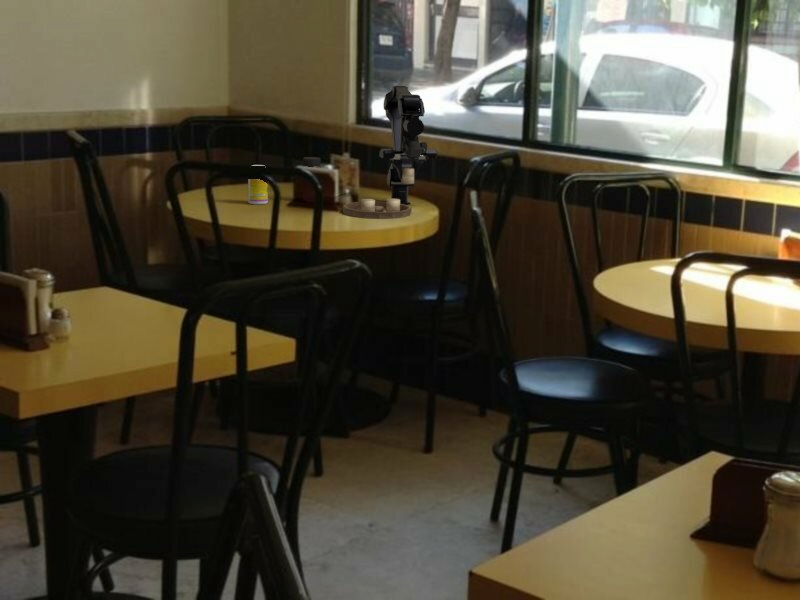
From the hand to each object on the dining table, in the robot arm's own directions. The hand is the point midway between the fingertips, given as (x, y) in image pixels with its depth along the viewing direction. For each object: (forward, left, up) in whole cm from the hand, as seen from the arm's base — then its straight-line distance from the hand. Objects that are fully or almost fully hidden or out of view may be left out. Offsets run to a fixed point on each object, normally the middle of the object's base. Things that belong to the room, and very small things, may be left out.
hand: (407, 179), depth 433 cm
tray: (+11, -13, -10) cm, 20 cm away
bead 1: (+15, -17, -9) cm, 25 cm away
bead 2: (+15, -9, -9) cm, 20 cm away
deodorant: (-19, -29, -10) cm, 36 cm away
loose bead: (0, 0, -1) cm, 1 cm away
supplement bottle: (-16, -48, -10) cm, 52 cm away
